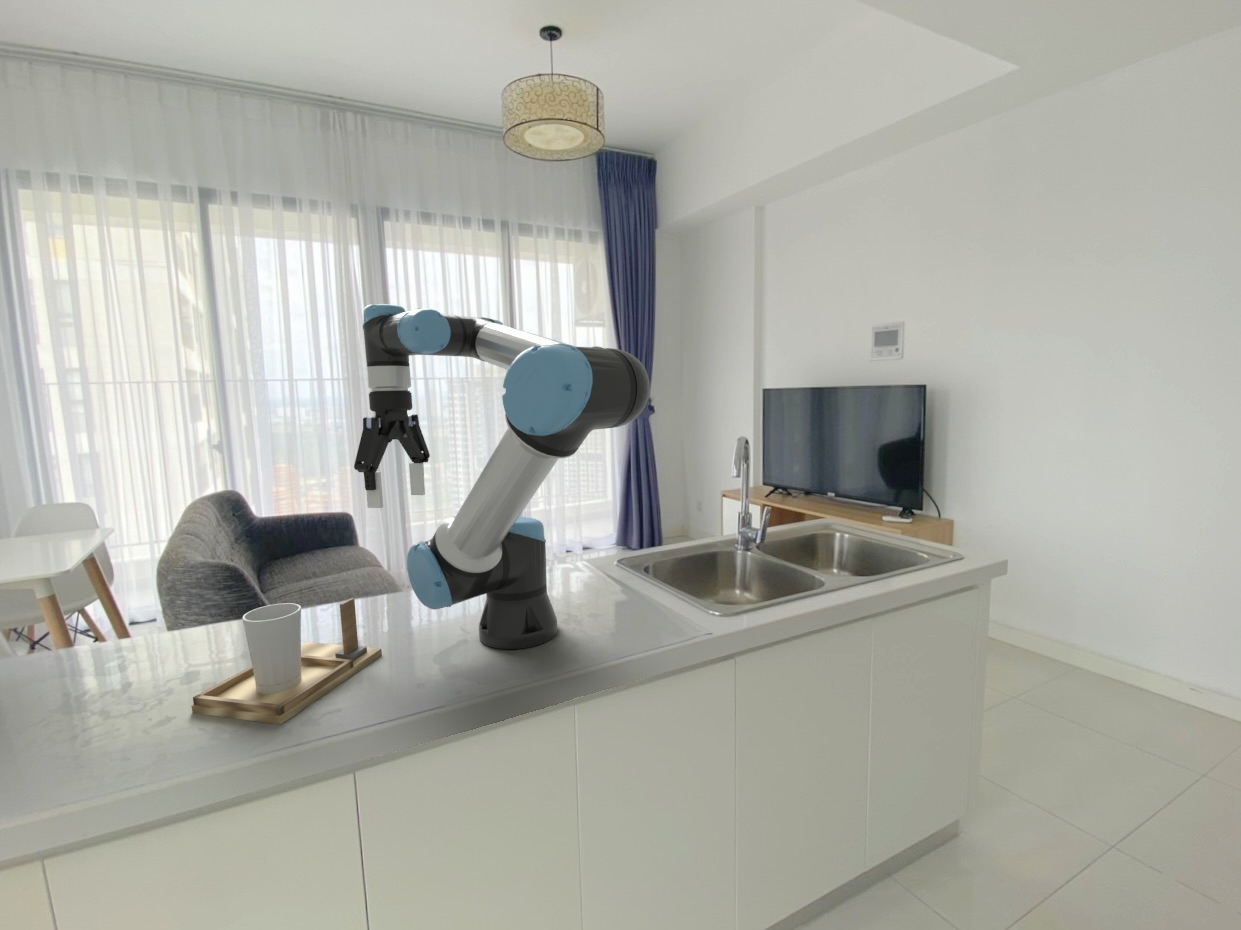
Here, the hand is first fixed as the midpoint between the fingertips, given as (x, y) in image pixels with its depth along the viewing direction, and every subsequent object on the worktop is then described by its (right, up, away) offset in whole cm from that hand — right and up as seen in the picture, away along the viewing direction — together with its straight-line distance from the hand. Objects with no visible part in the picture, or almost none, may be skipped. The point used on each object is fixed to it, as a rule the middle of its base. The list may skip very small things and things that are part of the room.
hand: (398, 501), depth 112 cm
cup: (-12, -28, -19) cm, 36 cm away
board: (-11, -29, -15) cm, 35 cm away
